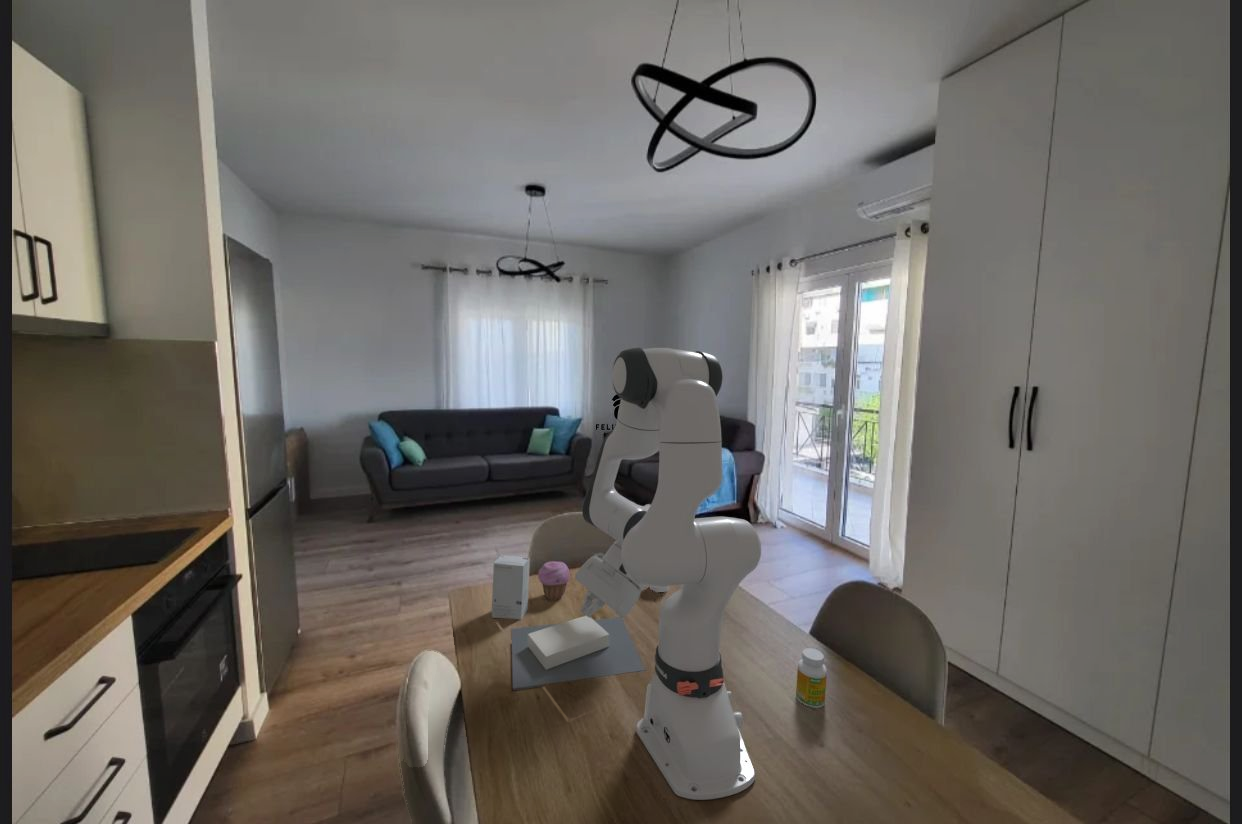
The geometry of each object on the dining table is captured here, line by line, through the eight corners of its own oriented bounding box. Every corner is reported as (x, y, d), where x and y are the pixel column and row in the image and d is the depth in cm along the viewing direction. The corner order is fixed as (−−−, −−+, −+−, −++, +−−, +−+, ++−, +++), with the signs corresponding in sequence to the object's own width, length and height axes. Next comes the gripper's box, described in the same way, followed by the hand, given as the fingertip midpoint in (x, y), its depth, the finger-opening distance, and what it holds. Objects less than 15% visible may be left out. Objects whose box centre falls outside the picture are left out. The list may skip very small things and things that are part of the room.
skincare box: (491, 618, 123) (490, 563, 121) (499, 606, 129) (499, 553, 127) (522, 621, 122) (522, 565, 121) (530, 609, 128) (530, 555, 127)
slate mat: (645, 671, 103) (645, 670, 103) (512, 690, 97) (512, 688, 97) (621, 618, 124) (621, 616, 124) (511, 630, 118) (511, 628, 118)
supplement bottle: (807, 711, 92) (810, 664, 91) (790, 692, 98) (793, 648, 97) (830, 706, 94) (834, 660, 93) (812, 688, 99) (815, 644, 98)
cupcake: (534, 593, 137) (534, 559, 136) (562, 586, 141) (563, 554, 140) (544, 607, 129) (544, 571, 128) (574, 600, 133) (574, 566, 132)
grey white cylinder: (672, 594, 138) (672, 571, 137) (648, 593, 138) (649, 570, 137) (670, 583, 145) (670, 561, 144) (647, 582, 145) (648, 560, 144)
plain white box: (588, 614, 119) (527, 633, 110) (609, 634, 111) (546, 656, 102) (587, 626, 119) (527, 647, 111) (609, 647, 111) (545, 670, 102)
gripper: (590, 543, 124) (556, 589, 119) (636, 573, 107) (598, 627, 103) (605, 556, 127) (572, 601, 122) (652, 587, 110) (615, 641, 106)
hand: (584, 613), depth 112 cm, fingers closed
